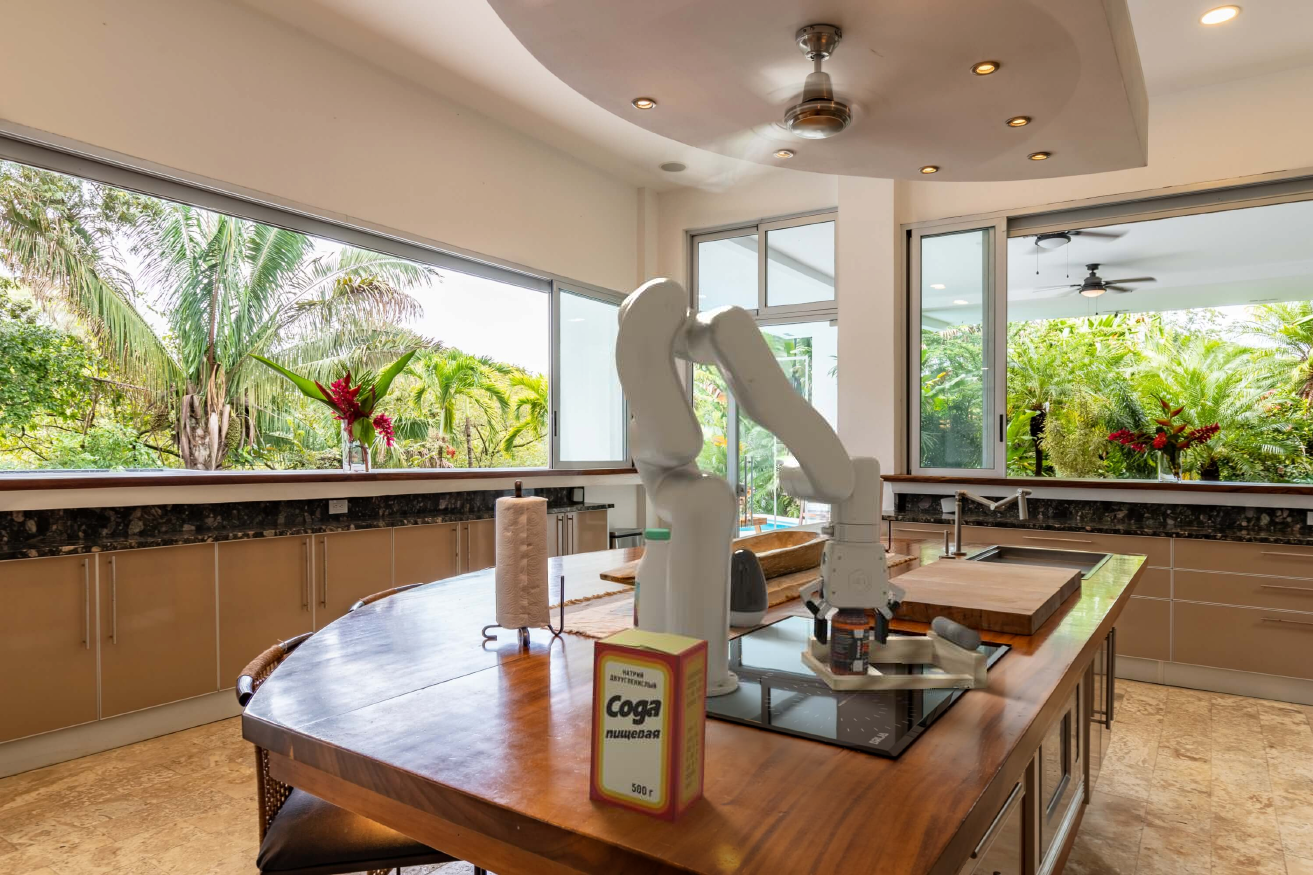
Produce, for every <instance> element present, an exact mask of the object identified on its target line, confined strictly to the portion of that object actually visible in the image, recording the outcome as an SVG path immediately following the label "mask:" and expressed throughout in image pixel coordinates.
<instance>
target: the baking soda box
mask: <svg viewBox="0 0 1313 875" xmlns="http://www.w3.org/2000/svg"><path fill="white" fill-rule="evenodd" d="M593 641H594V642H593V646H594V647H593V665H592V666H593V670H592V671H593V672H592V699H591V700H592V702H591V703H592V705H591V729H590V730H591V731H590V732H591V733H590V734H591V736H590V765H589V766H590V768H589V793H588V794H589V795H588V796H589V797H588V799H589V800H593V801H596V802H598V803H599V802H600V803H603V804H606V805H610V806H612V807H613V806H614V807H616V808H620V809H624V810H628V811H630V812H635V813H637V814H641V815H644V816H649V817H652V818H654V819H659V820H662V821H666V822H669V823H672V824H676V823H677V822H678V821H679V820H681V818H682V817H683V816H684V815H685V814H686V813H688V812H689V810H691V809H692V808H693V807H694V806H695V804H696V803H698V802H699V801H700V800H701V799H702V798H703V796H704V789H705V788H704V786H705V759H706V758H705V753H706V724H707V723H706V722H707V721H706V720H707V719H706V717H707V696H706V692H707V658H708V641H705V640H700V639H694V638H689V637H683V636H678V635H672V634H667V633H664V634H661V633H654V632H648V631H642V630H636V629H633V628H628V627H626V628H624V629H621V630H618V631H616V632H614V633H611V634H608V635H606V636H603V637H601V638H598V639H596V640H593Z"/></svg>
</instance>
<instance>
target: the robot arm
mask: <svg viewBox="0 0 1313 875" xmlns="http://www.w3.org/2000/svg"><path fill="white" fill-rule="evenodd" d="M617 324H618V332H617V337H616V343H615V351H614V352H615V353H614V354H615V355H614V356H615V367H616V371H617V372H616V373H617V377H618V379H619V382H620V385H621V389H622V390H623V393H624V396H625V399H626V402H627V405H628V408H629V410H630V412H631V415H632V419H631V420H630V422H629V425H628V427H627V428H628V429H627V434H626V438H627V439H626V440H627V446H628V451H629V453H630V457H631V458H632V461H633V463H634V466H635V469H636V470H637V473H638V475H639V477H640V480H641V483H642V485H643V487H644V490H645V492H646V494H647V496H648V498H649V500H650V503H651V505H652V506H653V509H654V511H655V513H656V514H657V515H658V517H659V518H660V519H661V520H662V521H663V522H664V523H666V524H667V525H669V526H671V531H670V542H669V548H668V556H667V576H666V577H667V587H666V621H665V633H667V634H672V635H678V636H683V637H689V638H694V639H700V640H705V641H708V658H707V692H706V697H716V696H721V695H727V694H729V693H732V692H734V691H735V690H737V689H738V687H739V677H738V675H737V674H736V673H735V672H733V671H732V670H729V651H730V626H731V625H730V590H731V557H732V554H733V543H734V537H735V531H736V526H737V521H738V515H739V514H738V513H739V512H738V510H739V507H738V506H739V505H738V499H737V495H736V493H735V490H734V489H733V486H732V485H731V484H730V483H729V482H728V480H727V479H726V478H724V477H723V476H721V475H720V474H719V473H716V472H713V471H711V470H703V469H700V467H699V465H698V462H697V460H696V459H697V458H698V457H699V455H701V452H702V450H703V447H704V441H705V440H704V433H703V429H702V426H701V424H700V421H699V419H698V417H697V414H696V413H695V412H696V411H694V408H693V406H692V403H691V401H690V399H689V396H688V394H687V392H686V389H685V387H684V384H683V383H682V378H681V376H680V373H679V370H678V368H677V364H676V359H678V360H681V361H685V362H688V363H693V364H695V365H700V366H708V367H712V366H713V367H715V368H716V371H717V373H719V375H720V376H721V379H722V380H723V382H724V383H725V385H726V387H727V388H728V391H729V392H730V394H731V395H732V397H733V400H734V401H735V402H736V404H737V406H738V408H739V409H740V412H741V413H742V414H743V415H744V416H745V417H746V418H748V420H750V421H751V422H753V423H754V424H755V425H757V426H758V427H760V428H762V429H763V430H766V431H767V432H768V433H770V434H771V435H773V436H774V437H776V438H777V439H778V441H780V442H781V443H782V444H783V445H784V446H785V447H786V449H787V450H788V451H789V452H790V454H791V455H792V456H790V457H788V458H787V459H786V460H785V461H783V463H782V464H781V466H780V468H779V472H778V482H779V485H780V487H781V489H782V490H783V492H784V493H785V494H787V495H788V496H789V497H791V498H794V499H795V500H798V501H804V502H809V503H817V504H823V505H829V506H830V507H829V508H830V510H829V514H830V515H829V521H828V524H826V526H825V525H823V526H821V528H820V532H821V535H823V536H827V538H828V539H829V540H826V541H825V544H824V547H823V552H822V556H821V559H820V560H821V562H820V568H819V576H818V577H819V578H816V579H814V580H812V581H811V582H808V583H807V584H805V585H803V586H801V587H800V588H798V589H797V591H798V594H799V596H800V598H801V601H802V602H803V606H805V608H807V609H808V610H809V612H810V613H811V614H812V615H813V621H814V622H813V637H815V638H816V640H817V641H818V642H819V643H821V644H822V645H826V644H827V637H828V633H829V632H828V631H829V630H828V628H829V624H828V623H829V622H828V619H827V618H826V616H827V615H828V614H829V612H830V611H831V610H832V609H833V608H834V609H835V608H836V609H838V608H864V609H875V611H876V613H877V614H875V616H874V626H873V627H874V630H873V637H874V639H875V640H876V641H878V642H879V643H881V644H882V645H886V640H887V638H888V637H890V636H889V635H890V632H889V630H890V620H891V619H892V618H893V614H895V612H896V611H898V609H899V608H900V607H901V603H902V602H903V600H904V598H905V596H906V595H907V591H906V590H905V589H903V588H902V587H900V586H898V585H896V584H895V583H892V582H891V581H890V580H889V572H888V562H887V554H886V551H885V550H886V549H885V545H884V544H883V543H881V542H879V539H880V537H879V536H880V535H879V533H880V531H879V530H880V502H881V501H880V493H881V465H880V461H879V460H878V459H877V458H875V457H872V456H866V455H865V456H864V455H849V453H848V452H847V450H846V448H845V446H844V445H843V443H842V441H841V439H840V438H839V436H838V435H837V433H836V431H835V430H834V428H833V426H831V425H830V423H829V422H828V420H826V419H825V417H824V416H823V415H822V414H821V413H820V412H819V411H818V410H817V409H816V408H815V407H814V406H813V405H812V404H811V403H810V402H809V401H808V400H807V399H806V398H805V397H804V396H803V395H802V394H801V393H800V392H799V391H798V390H796V388H795V387H793V384H792V383H791V382H790V380H789V379H788V377H787V376H786V374H785V372H784V369H783V368H782V367H781V366H780V363H779V362H778V360H777V358H776V356H775V354H774V353H773V351H772V348H770V346H769V344H768V342H767V340H766V338H765V337H764V335H763V333H762V332H761V330H760V328H759V326H758V324H757V323H756V320H754V318H753V316H752V315H751V314H750V313H749V312H748V311H747V310H746V309H745V308H743V307H742V306H738V305H735V304H734V305H733V304H732V305H731V304H729V305H723V306H719V307H717V308H714V309H711V310H709V311H702V310H699V309H698V310H697V309H694V308H691V307H690V301H689V296H688V294H687V292H686V290H685V289H684V287H683V286H682V284H680V283H679V282H677V281H676V280H673V279H672V278H667V277H666V278H665V277H658V278H655V279H652V280H650V281H647V282H646V283H644V284H643V285H641V286H639V288H637V289H636V290H634V292H632V293H631V294H630V295H628V296H627V297H626V298H625V299H624V300H623V302H622V303H621V305H620V307H619V309H618V313H617ZM816 591H818V598H819V600H818V602H817V603H815V602H814V601H813V599H812V596H811V595H812V594H813V593H815V592H816ZM889 592H891V593H892V597H891V599H890V600H889V598H890V597H889V596H890V593H889Z"/></svg>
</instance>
